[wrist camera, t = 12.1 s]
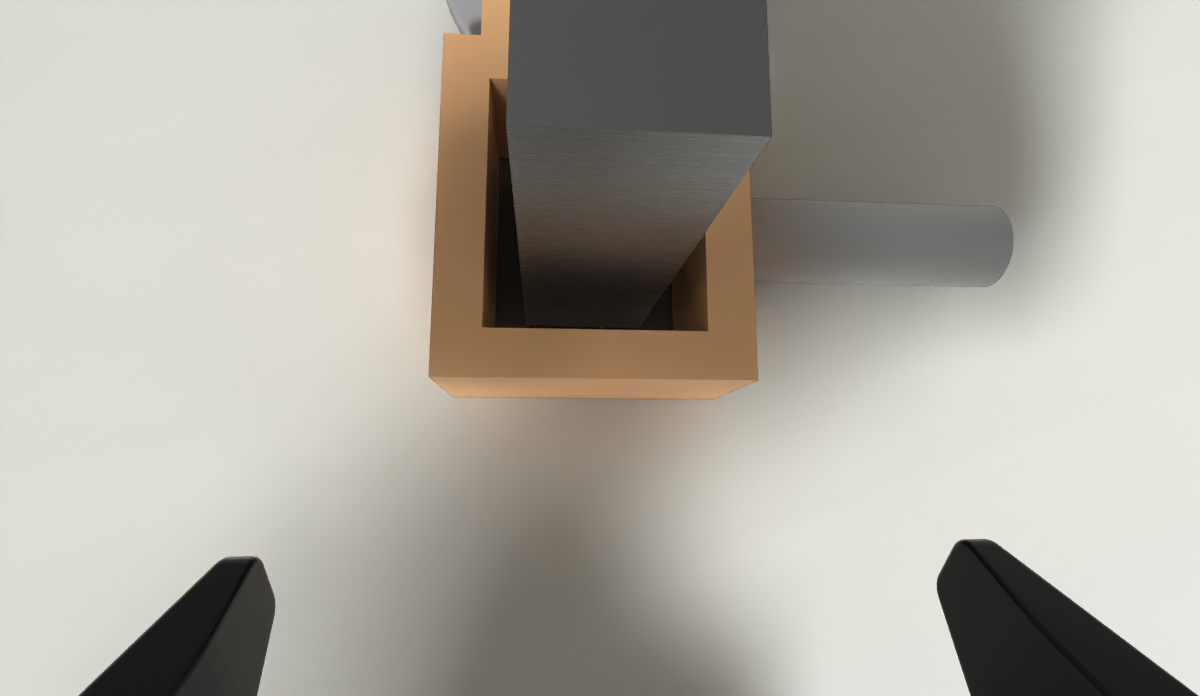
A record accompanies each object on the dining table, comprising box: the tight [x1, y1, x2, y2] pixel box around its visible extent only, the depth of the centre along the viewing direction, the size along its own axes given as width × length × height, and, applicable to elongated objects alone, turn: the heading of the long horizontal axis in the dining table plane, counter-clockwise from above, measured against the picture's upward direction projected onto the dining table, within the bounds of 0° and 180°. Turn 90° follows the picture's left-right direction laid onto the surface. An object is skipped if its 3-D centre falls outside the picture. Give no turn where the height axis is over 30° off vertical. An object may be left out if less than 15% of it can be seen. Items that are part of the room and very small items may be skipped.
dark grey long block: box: [506, 0, 772, 328], centre depth 15 cm, size 4×4×12 cm
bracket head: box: [429, 0, 1013, 399], centre depth 20 cm, size 18×16×6 cm
